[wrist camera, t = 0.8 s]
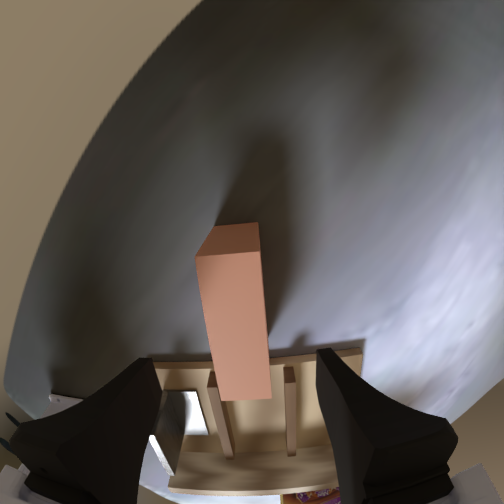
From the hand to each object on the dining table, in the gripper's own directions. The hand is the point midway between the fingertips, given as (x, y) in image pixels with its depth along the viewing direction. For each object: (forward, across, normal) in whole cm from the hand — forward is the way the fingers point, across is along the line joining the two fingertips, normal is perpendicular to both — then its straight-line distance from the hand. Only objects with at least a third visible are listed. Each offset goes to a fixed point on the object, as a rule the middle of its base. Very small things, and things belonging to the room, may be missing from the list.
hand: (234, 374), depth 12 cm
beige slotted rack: (+10, 0, +13) cm, 16 cm away
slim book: (+10, 0, 0) cm, 10 cm away
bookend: (+9, +6, +12) cm, 16 cm away
